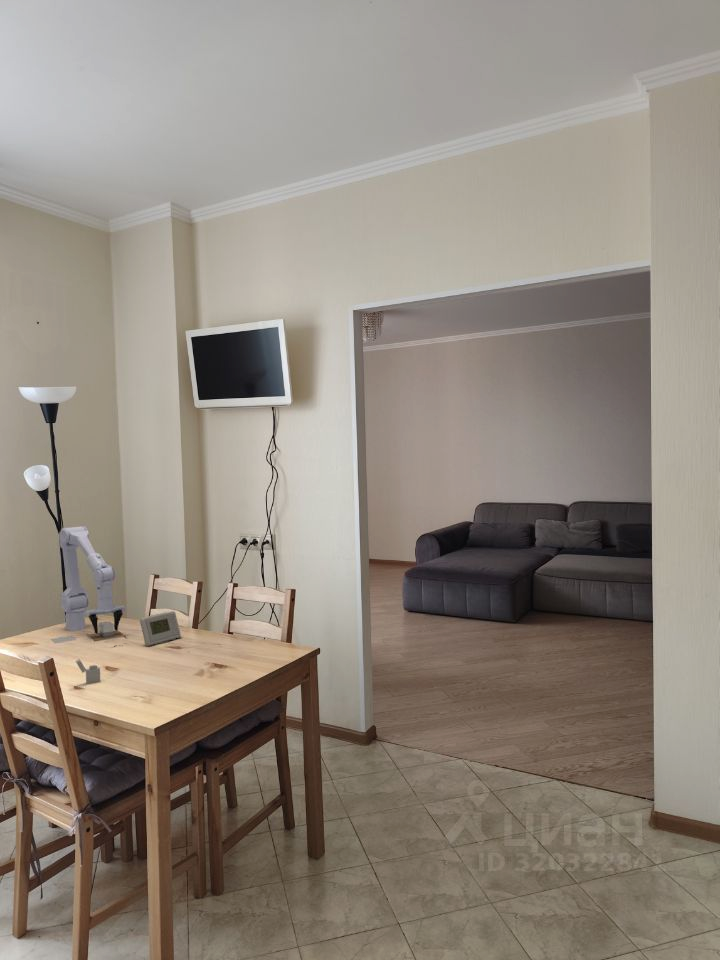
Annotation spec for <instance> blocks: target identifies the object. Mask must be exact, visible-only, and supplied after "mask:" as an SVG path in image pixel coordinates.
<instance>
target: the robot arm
mask: <svg viewBox="0 0 720 960" xmlns="http://www.w3.org/2000/svg"><path fill="white" fill-rule="evenodd" d="M89 537H90V533H89V530H88V528H87V527H86V526H85V525H81V526H74V527H72V526H71V527H63V528H61V529H60V531H59V532H58V539H59V545H60V548H61V549H62V556H63V563H64V564H63V565H64V571H65V572H64V573H65V582H66V587H67V588H66V589H65V590H64V591H63V592H62V593H61V596H60V597H61V601H60V606H61V609H62V610H63V612H64V613H65V618H64V619H65V629H66V631H69V632H76V631H82V630H85V629H86V617H88V618H89V621H90V622H91V624H92V627H93V631H94V634H97V633H99V627H98V619H99V618H98V616H97V615H105V614H111V613H113V614H112V615H113V622H114V623H113V624H114V631H115V630H118V628H119V623H120V620H121V619H122V617H123V612H125V611H126V609H125V605H115V606H114V602H113V601H114V599H113V581H114V579H115V577H116V572H115V569H114V568H113V566H111V565H109V564H107V563H106V561H105V560H104V558H103V557H102V555H101V554H100V553H98V552H96V550H95V549H94V547H93V545H92V543H91V541H90V539H89ZM78 548H80V549H81V551H82V552H83V554H84V555H85V556H86V563H87V564H88V566H89V568H90V569H91V571H92V573H93V575H92V576H93V581H94V584H95V588H96V597H97V600H96V602H97V607H96V608H92V609H88V610H87V608H88V606H89V605H90V597H89V596H88V592H87V589H86V588H83V587H82V586H81V580H80V571H79V563H78V555H77V549H78ZM118 631H119V630H118Z"/></svg>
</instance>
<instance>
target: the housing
mask: <svg viewBox="0 0 720 960" xmlns="http://www.w3.org/2000/svg"><path fill="white" fill-rule="evenodd" d="M98 626H99V627H98V633H99V635H100V636H101V637H102V638H109V637H114V631H115V629H114V623H113V622H111V621H110V620H109V621H103V622H99V623H98Z"/></svg>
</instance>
